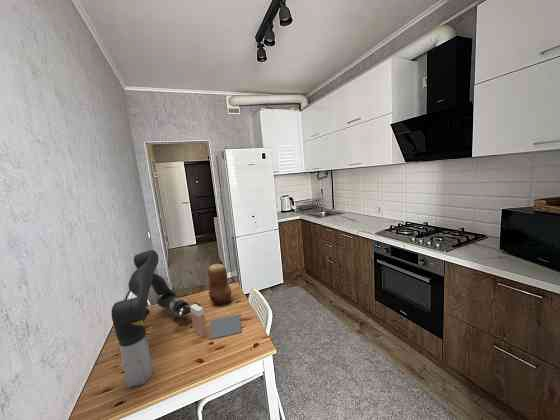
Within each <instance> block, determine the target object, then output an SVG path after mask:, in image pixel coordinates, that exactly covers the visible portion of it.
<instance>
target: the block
mask: <svg viewBox="0 0 560 420" xmlns="http://www.w3.org/2000/svg"><path fill="white" fill-rule="evenodd" d="M191 305H192V306H190V311H191V313H190V315H191V316H190V317H191V322H192V324H191V325H192V328H193V332H194V333H195V334H197V335H198V336H200V337H201V338H202V337H204V336H206V335H208V334H207V333H208V332H207V326H206V318H205V311H204V307H201V305H200V306H198V305H197V304H194V305H193V304H191Z"/></svg>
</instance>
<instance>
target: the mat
mask: <svg viewBox="0 0 560 420" xmlns="http://www.w3.org/2000/svg"><path fill="white" fill-rule="evenodd" d="M242 332H243V331H242V322H241V314H240V313H239V314H234V315H230V316H224V317H220V318H214V319H211V320H210V326H209V333H208V334H209V335H208V341H211V340H216V339H221V338H225V337H229V336H234V335H238V334H242Z"/></svg>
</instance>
